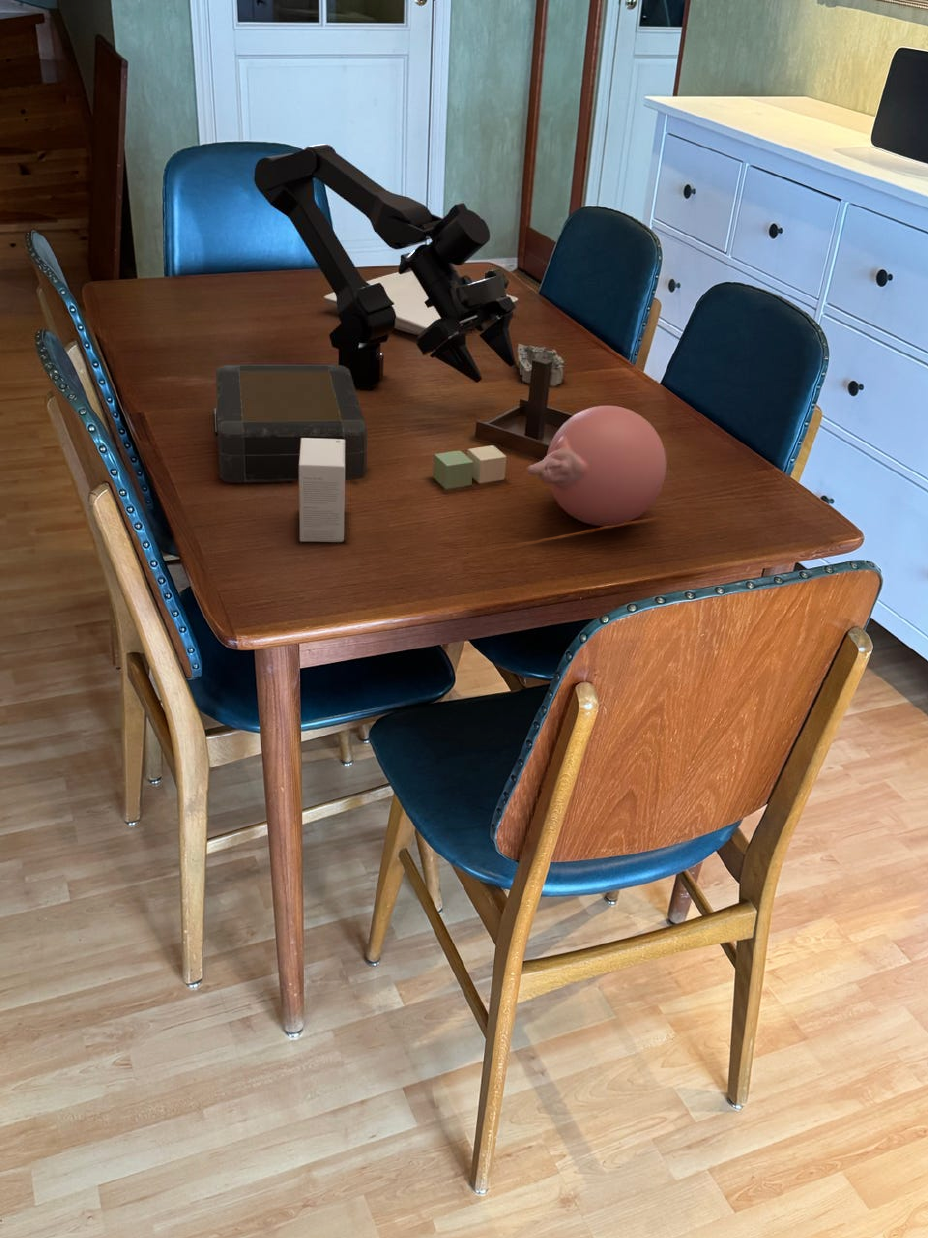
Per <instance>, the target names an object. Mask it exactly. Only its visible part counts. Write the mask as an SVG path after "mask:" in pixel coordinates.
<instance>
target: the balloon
mask: <svg viewBox="0 0 928 1238" xmlns="http://www.w3.org/2000/svg"><path fill="white" fill-rule="evenodd" d="M573 415H574V416H573V417H571V418H570V419H569V420H567V421H566V422H565V423H564V424H563V425H562V426H561V427H560V429H559V430H558V431H557V433H556V434H555V436H554V438H553V439H552V441H551V444H550V446H549V449H548V453H547V456H546V457H545V458H544V459H543V460H540V461H539V462H536V463H535V464H531V465H528V467H527V468H526V471H527V474H528V475H534V476H538V478H539V481H541V482H542V483H543V484H545V485H548V487H549V490H550V492H551V494H552V496H553V498H554V500H555V501H556V502H557V504H558V505H559V507H560V508H561V509H563V510H564V512H565V513H567V514H568V515H569V516H571V517H573V518H574V519H576V520H578V521H580V522H582V523H585V524H587V525H591V526H595V527H613V526H614V527H615V526H619V525H623V524H626V523H628V522H631V521H633V520H634V519H637V518H638V517H640V516H641V515H643V514H644V513H645V512H646V511H648V510H649V508H650V507H651V506H652V505H653V504H654V503H655V501H656V500H657V498H658V497H659V495H660V493H661V492H662V489H663V485H664V483H665V480H666V475H667V455H666V449H665V447H664V444H663V442H662V439H661V437H660V435H659V434H658V432H657V430H656V429H655V428H654V426H653V425H652V424H651V423H650V422H649V421H648V420H646V419H645V417H643V416H641V415H640V414H639V413H637V412H635V411H632V410H631V409H628V408H626V407H622V406H616V405H598V406H593V407H589V408H585V409H583V410H581V411H579V412H577V413H576V414H573Z"/></svg>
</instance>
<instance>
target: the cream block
mask: <svg viewBox="0 0 928 1238" xmlns="http://www.w3.org/2000/svg"><path fill="white" fill-rule="evenodd" d="M466 456H467V457H468V458H469V459H470V460H472V461H473V471H472V479H473V480H475V481H476V482H477V483H478V484H483V483H484V484H485V483H491V482H496V481H502V480H505V476H506V465H507V455H506V454H504V452H502V451H501V450H499V448H497V447H496V446H495V445H494V444H493V445H485V446H479V447H472V448H467V454H466Z"/></svg>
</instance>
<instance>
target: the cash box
mask: <svg viewBox="0 0 928 1238" xmlns="http://www.w3.org/2000/svg"><path fill="white" fill-rule="evenodd" d="M215 381H216V384H215V385H216V386H215V387H216V404H215V407H216V408H214V409H212V419H213V421H212V422H213V434H214V435H215V436H216V437H217V447H218V463H219V464H218V465H219V476H220V478H221V479H222V480H223V482H227V483H232V484H234V483H235V484H239V483H240V484H241V483H242V484H243V483H247V484H248V483H283V482H286V483H288V482H290V483H291V482H297V481H299V455H300V442H301V438H314V439H342V440H345V480H358V479H362V478H364V477H365V476H366V473H367V459H368V455H367V454H368V428H367V425H366V422H365V417H364V415H363V411H362V408H361V405H360V401H359V397H358V394H357V390H356V387H354V384H353V380H352V377H351V374H350V370H349V369H348V368H346V367H345V366H342V365H339V364H225V365H222V366H219V368H217V369H216V373H215Z"/></svg>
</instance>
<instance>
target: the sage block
mask: <svg viewBox="0 0 928 1238" xmlns="http://www.w3.org/2000/svg"><path fill="white" fill-rule="evenodd" d="M432 469H433V470H432V478H433V479H434V480H435V481H436V482H437V483H438V484H439V485H440V486H441V487H442V488H443V489H444V490H449V489H456V488H461V487H467V486H472V484H473V483H472V481H473V477H472V471H473V461H472V460H470V459H469V458H468V457H467V454H465V453H464V452H463V451H461V450H453V451H446V452H440V453H439V452H438V453H433V466H432Z"/></svg>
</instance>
